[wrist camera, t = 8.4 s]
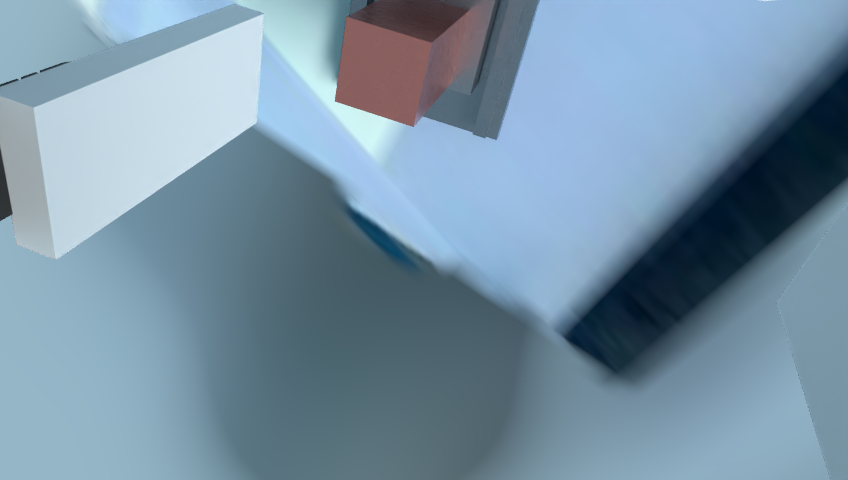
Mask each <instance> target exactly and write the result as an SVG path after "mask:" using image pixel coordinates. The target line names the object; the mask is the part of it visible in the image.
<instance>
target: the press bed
mask: <svg viewBox="0 0 848 480" xmlns="http://www.w3.org/2000/svg"><path fill="white" fill-rule="evenodd" d="M539 1H540V0H499V4H498V8H497V11H496V15H495V19H494V22H493V26H492V30H491V34H490V37H489V41H488V45H487V49H486V52H485V56H484V60H483V64H482V67H481V71H480V75H479V78H478V82H477V86H476V88H475V89H474V91H473V92H472V94H471V95H467V94H464V93H460V92H457V91H454V90H451V89H448V88H446V90H445V91H444V92H443V93H442V94H441V95H440V97H439V98H438V99H437V100H436V101H435V102H434V104H433V105H432V106H431V107H430V108H429V109H428V111H427V112H426V113H425V114H424V115H423V116H424V117H427V118H430V119H433V120H436V121H439V122H443V123H446V124H449V125H452V126H455V127H458V128H461V129H464V130H467V131H470V132H473V134H474V135H477V136H480V137H483V138H486V137H489V138H492V139H495V140H497V138H498V136H499V133H500V130H501V126H502V123H503V120H504V116H505V113H506V110H507V106H508V103H509V100H510V96H511V93H512V90H513V87H514V83H515V80H516V77H517V73H518V70H519V67H520V63H521V60H522V57H523V54H524V50H525V47H526V44H527V40H528V37H529V34H530V30H531V27H532V24H533V21H534V17H535V14H536V11H537V7H538V4H539ZM374 2H375V0H351V7H350V14H349V15H351V14H353V13H355V12H357V11H358V10H360V9H362V8H364V7H366V6H368V5H370V4H372V3H374Z"/></svg>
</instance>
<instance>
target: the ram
mask: <svg viewBox="0 0 848 480" xmlns="http://www.w3.org/2000/svg"><path fill="white" fill-rule="evenodd" d="M498 4H499V0H375V2H374V3H372V4H370V5H368V6H366V7H364V8H362V9H360V10H358V11H357V12H355V13H353V14H351V15H349V16H347V17H346V24H345V31H344V38H343V45H342V53H341V60H340V67H339V75H338V82H337V89H336V97H335V101H336V102H339V103H342V104H345V105H348V106H351V107H354V108H357V109H360V110H363V111H366V112H369V113H373V114H376V115H379V116H382V117H385V118H388V119H391V120H394V121H397V122H400V123H403V124H406V125H409V126H413V127H414V126H415V125H416V123H417V122H418V121H419V120H420V119H421V118H422V116H423V115H424V114H425V113H426V112H427V111H428V109H429V108H430V107H431V106H432V105H433V104H434V102H435V101H436V100H437V99H438V98H439V97H440V95H441V94H442V93H443V92H444V91H445V90H446V88H448V89H451V90H454V91H457V92H460V93H464V94H467V95H471V94H472V92H473V91H474V89H475V88H476V86H477V82H478V78H479V75H480V71H481V67H482V64H483V60H484V56H485V52H486V49H487V45H488V41H489V37H490V34H491V30H492V26H493V22H494V19H495V15H496V11H497V8H498Z"/></svg>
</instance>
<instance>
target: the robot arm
mask: <svg viewBox="0 0 848 480" xmlns="http://www.w3.org/2000/svg"><path fill="white" fill-rule="evenodd" d="M263 24H264V13H261V12H258V11H255V10H252V9H249V8H246V7H243V6H239V5H236V4H232V5H229V6H227V7H224V8H221V9H218V10H215V11H213V12H210V13H207V14H204V15H201V16H198V17H196V18H193V19H190V20H187V21H184V22H182V23H179V24H176V25H173V26H170V27H167V28H165V29H162V30H159V31H156V32H153V33H151V34H148V35H145V36H142V37H139V38H136V39H134V40H131V41H128V42H125V43H122V44H120V45H117V46H114V47H111V48H108V49H105V50H103V51H100V52H97V53H94V54H91V55H89V56H86V57H83V58H80V59H77V60H74V61H71V62H64V63H60V64H58V65H55V66H52V67H49V68H46V69H43V70H40V73H36V72H35V73H32V74H29V75H26V76H23V77H21V80H18V79H15V80H12V81H9V82H6V83H4V84H1V85H0V221H1V220H3V219H5V218H6V217H8V216H10V215H11V218H12V224H13V229H14V234H15V240H16V244H17V245H19V246H21V247H24V248H27V249H29V250H32V251H34V252H37V253H39V254H42V255H44V256H47V257H49V258H52V259H55V260H57V259H58V258H59V257H61V256H62V255H64V254H65V253H67V252H68V251H70V250H71V249H73V248H74V247H76V246H77V245H78V244H80V243H81V242H83V241H84V240H86V239H87V238H89V237H90V236H92V235H93V234H95V233H96V232H97V231H99V230H100V229H102V228H103V227H105V226H106V225H108V224H109V223H111V222H112V221H114V220H115V219H116V218H118V217H119V216H121V215H122V214H124V213H125V212H127V211H128V210H130V209H131V208H133V207H134V206H135V205H137V204H138V203H140V202H141V201H143V200H144V199H146V198H147V197H149V196H150V195H152V194H153V193H154V192H156V191H157V190H159V189H160V188H162V187H163V186H165V185H166V184H168V183H169V182H171V181H172V180H173V179H175V178H176V177H178V176H179V175H181V174H182V173H184V172H185V171H186V170H188V169H189V168H191V167H192V166H194V165H195V164H197V163H198V162H200V161H201V160H203V159H204V158H206V157H207V156H208V155H210V154H211V153H213V152H214V151H216V150H217V149H219V148H220V147H222V146H223V145H225V144H226V143H228V142H229V141H230V140H232V139H233V138H235V137H236V136H238V135H239V134H241V133H242V132H244V131H245V130H246V129H248V128H249V127H251V126H252V125H254V124H255V123H257V109H258V95H259V81H260V67H261V52H262V38H263ZM777 306H778V309H779V313H780V316H781V320H782V323H783V326H784V329H785V332H786V336H787V339H788V342H789V346H790V349H791V352H792V356H793V359H794V362H795V365H796V369H797V372H798V375H799V379H800V382H801V385H802V389H803V392H804V395H805V398H806V402H807V405H808V408H809V412H810V415H811V418H812V422H813V425H814V428H815V431H816V435H817V438H818V441H819V445H820V448H821V451H822V454H823V458H824V461H825V464H826V467H827V471H828V474H829V478H830V480H848V202H847V204H846V205H845V206H844V208H843V209H842V211H841V212H840V213H839V215H838V216H837V218H836V219H835V221H834V222H833V223H832V225H831V226H830V228H829V229H828V230H827V232H826V233H825V235H824V236H823V237H822V239H821V240H820V242H819V243H818V244H817V246H816V247H815V249H814V250H813V251H812V253H811V254H810V256H809V257H808V259H807V260H806V261H805V263H804V264H803V266H802V267H801V268H800V270H799V271H798V273H797V274H796V275H795V277H794V278H793V280H792V281H791V283H790V284H789V285H788V287H787V288H786V290H785V291H784V293H783V294H782V295H781V297H780V298H779V299H778V301H777Z"/></svg>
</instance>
